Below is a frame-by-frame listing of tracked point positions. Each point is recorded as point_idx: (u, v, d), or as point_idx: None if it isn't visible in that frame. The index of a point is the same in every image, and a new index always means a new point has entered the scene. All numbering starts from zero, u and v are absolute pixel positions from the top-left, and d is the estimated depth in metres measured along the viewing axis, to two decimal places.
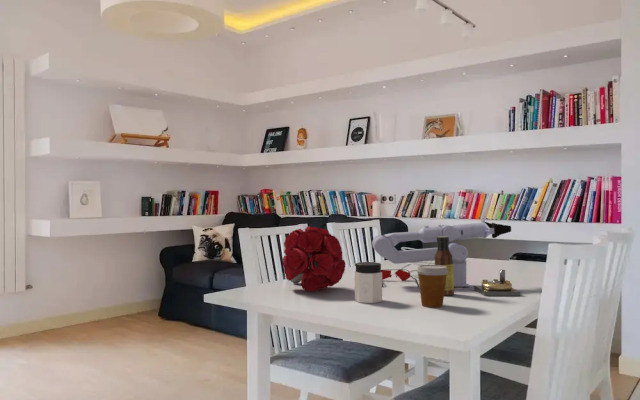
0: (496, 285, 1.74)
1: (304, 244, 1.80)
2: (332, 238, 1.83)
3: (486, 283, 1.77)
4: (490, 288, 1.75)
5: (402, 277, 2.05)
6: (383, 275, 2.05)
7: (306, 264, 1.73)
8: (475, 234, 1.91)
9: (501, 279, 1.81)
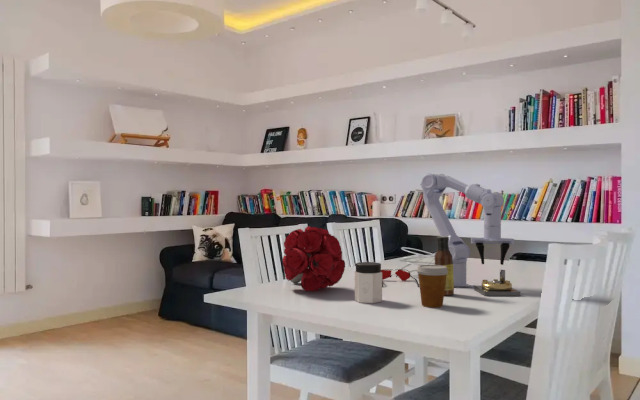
0: (496, 285, 1.74)
1: (304, 244, 1.80)
2: (332, 238, 1.83)
3: (486, 283, 1.77)
4: (490, 288, 1.75)
5: (402, 277, 2.05)
6: (383, 275, 2.05)
7: (306, 264, 1.74)
8: None
9: (501, 279, 1.81)
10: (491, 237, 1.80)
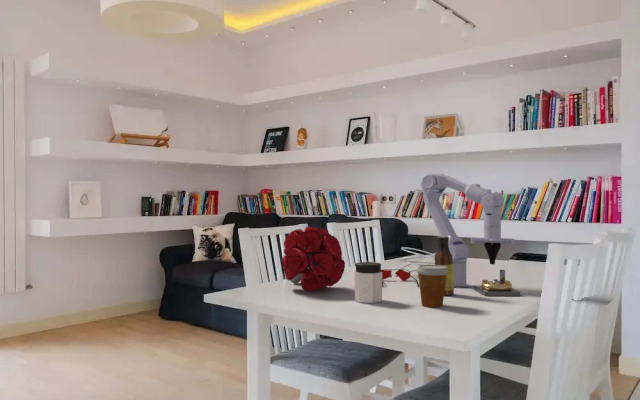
0: (496, 285, 1.74)
1: (304, 244, 1.81)
2: (332, 238, 1.83)
3: (486, 283, 1.77)
4: (490, 288, 1.75)
5: (402, 277, 2.05)
6: (383, 275, 2.05)
7: (306, 264, 1.74)
8: None
9: (501, 279, 1.81)
10: (491, 237, 1.80)
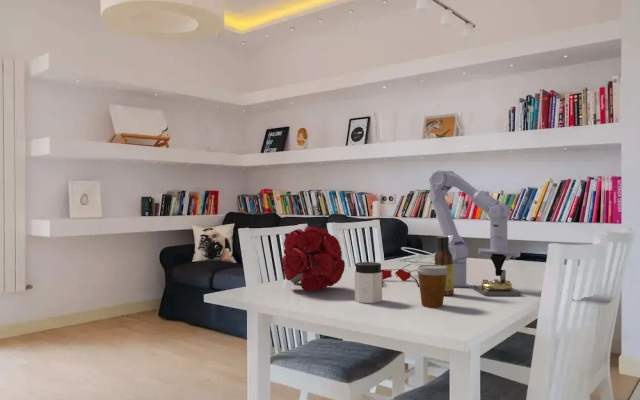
0: (495, 285, 1.74)
1: (303, 244, 1.81)
2: (331, 238, 1.83)
3: (486, 283, 1.77)
4: (489, 288, 1.75)
5: (402, 277, 2.05)
6: (383, 275, 2.05)
7: (305, 264, 1.74)
8: None
9: (501, 279, 1.81)
10: (493, 248, 1.81)
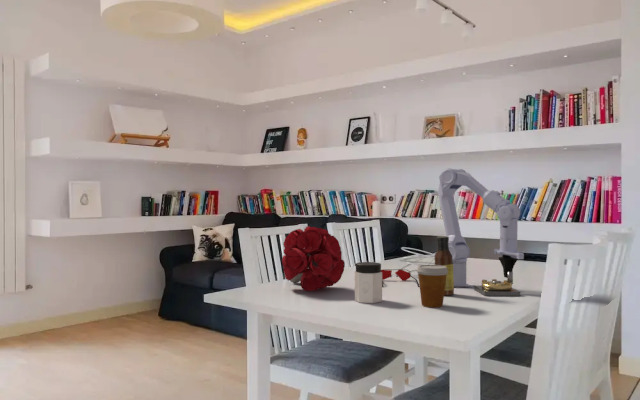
0: (484, 283, 1.77)
1: (303, 244, 1.81)
2: (331, 238, 1.83)
3: (483, 281, 1.81)
4: None
5: (402, 277, 2.05)
6: (383, 275, 2.05)
7: (305, 264, 1.74)
8: None
9: (507, 280, 1.78)
10: (500, 249, 1.79)
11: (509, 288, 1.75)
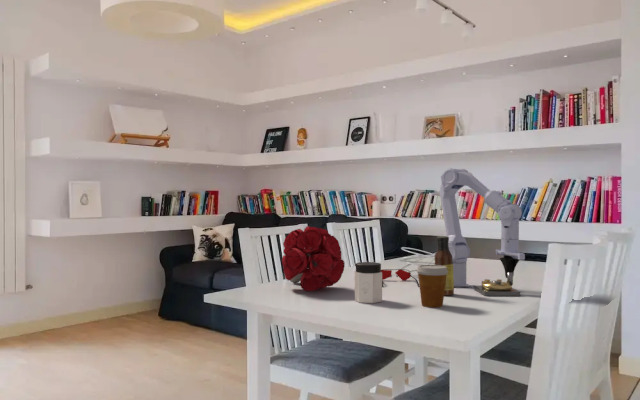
0: (482, 282, 1.79)
1: (303, 244, 1.81)
2: (331, 238, 1.83)
3: (485, 280, 1.82)
4: None
5: (402, 277, 2.05)
6: (383, 275, 2.05)
7: (305, 264, 1.74)
8: None
9: (507, 281, 1.77)
10: (501, 249, 1.78)
11: (505, 288, 1.74)
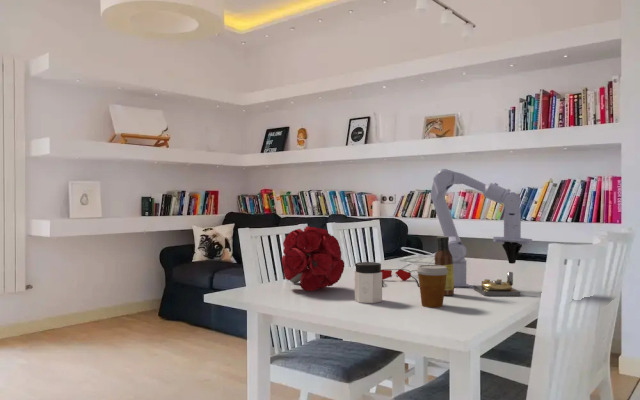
0: (482, 282, 1.79)
1: (303, 244, 1.81)
2: (331, 238, 1.83)
3: (485, 280, 1.82)
4: None
5: (403, 277, 2.05)
6: (384, 275, 2.05)
7: (305, 264, 1.74)
8: None
9: (507, 281, 1.77)
10: (506, 236, 1.84)
11: (505, 288, 1.74)
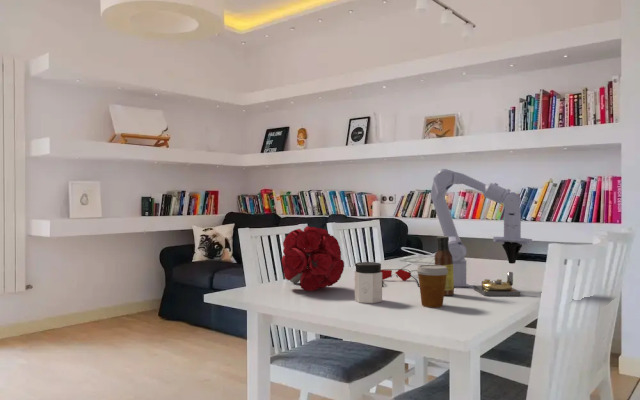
0: (482, 282, 1.79)
1: (303, 244, 1.81)
2: (331, 238, 1.83)
3: (485, 280, 1.82)
4: None
5: (403, 277, 2.05)
6: (384, 275, 2.05)
7: (305, 264, 1.74)
8: None
9: (507, 281, 1.77)
10: (506, 236, 1.84)
11: (505, 288, 1.74)
